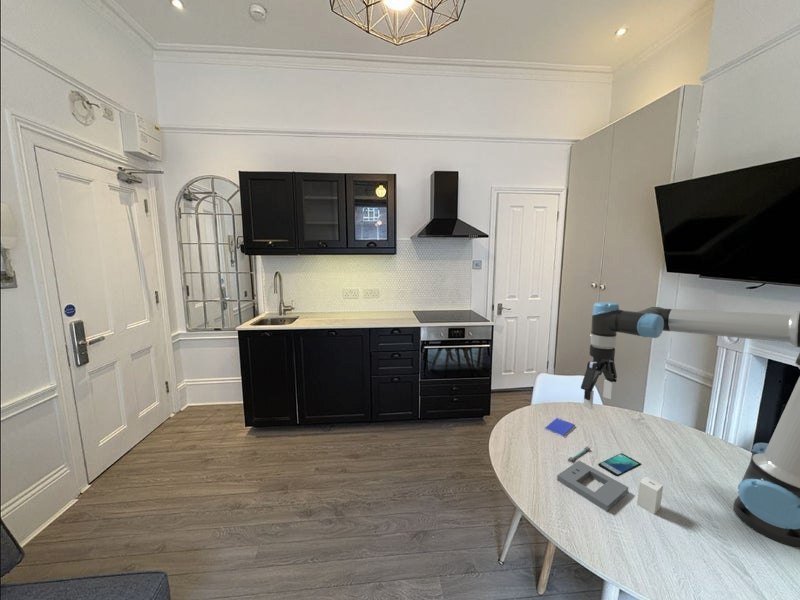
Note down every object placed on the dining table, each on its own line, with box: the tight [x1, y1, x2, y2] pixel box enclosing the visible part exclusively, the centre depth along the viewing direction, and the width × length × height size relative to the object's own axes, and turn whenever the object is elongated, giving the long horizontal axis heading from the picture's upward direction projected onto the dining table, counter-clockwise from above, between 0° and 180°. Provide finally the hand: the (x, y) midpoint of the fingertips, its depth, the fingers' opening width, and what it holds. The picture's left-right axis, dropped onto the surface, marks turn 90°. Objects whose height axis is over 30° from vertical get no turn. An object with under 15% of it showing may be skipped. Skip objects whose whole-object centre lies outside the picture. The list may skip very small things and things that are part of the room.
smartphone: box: [597, 452, 641, 477], centre depth 117 cm, size 7×1×15 cm
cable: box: [567, 446, 591, 463], centre depth 123 cm, size 1×13×1 cm, turn 123°
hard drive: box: [544, 417, 576, 438], centre depth 142 cm, size 2×8×12 cm
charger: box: [636, 476, 664, 515], centre depth 98 cm, size 4×4×8 cm
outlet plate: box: [556, 460, 629, 512], centre depth 107 cm, size 16×14×2 cm
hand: (597, 402), depth 115 cm, fingers open, 13 cm apart
